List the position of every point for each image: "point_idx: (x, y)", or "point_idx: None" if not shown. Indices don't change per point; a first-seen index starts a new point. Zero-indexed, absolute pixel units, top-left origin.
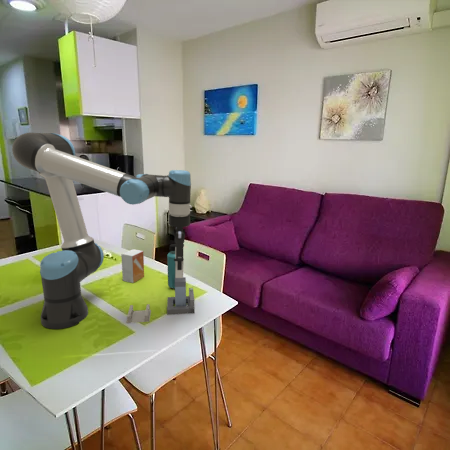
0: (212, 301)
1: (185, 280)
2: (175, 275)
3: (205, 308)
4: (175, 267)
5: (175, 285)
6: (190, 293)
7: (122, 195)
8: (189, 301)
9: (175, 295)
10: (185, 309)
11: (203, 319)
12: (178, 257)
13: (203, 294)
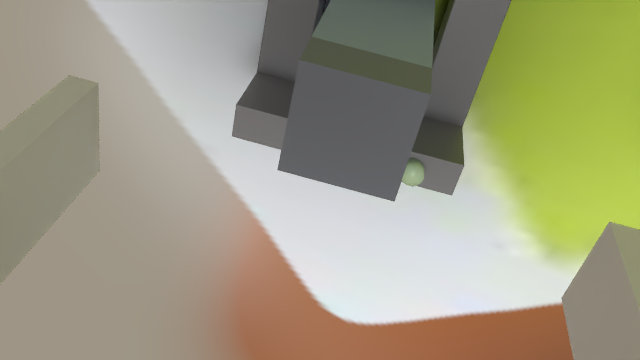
0: (398, 239)
1: (309, 176)
2: (50, 92)
3: None
4: (10, 160)
5: (305, 49)
6: None
7: None
8: None
9: (326, 8)
10: (264, 37)
11: (191, 112)
12: (609, 334)
13: (526, 229)
